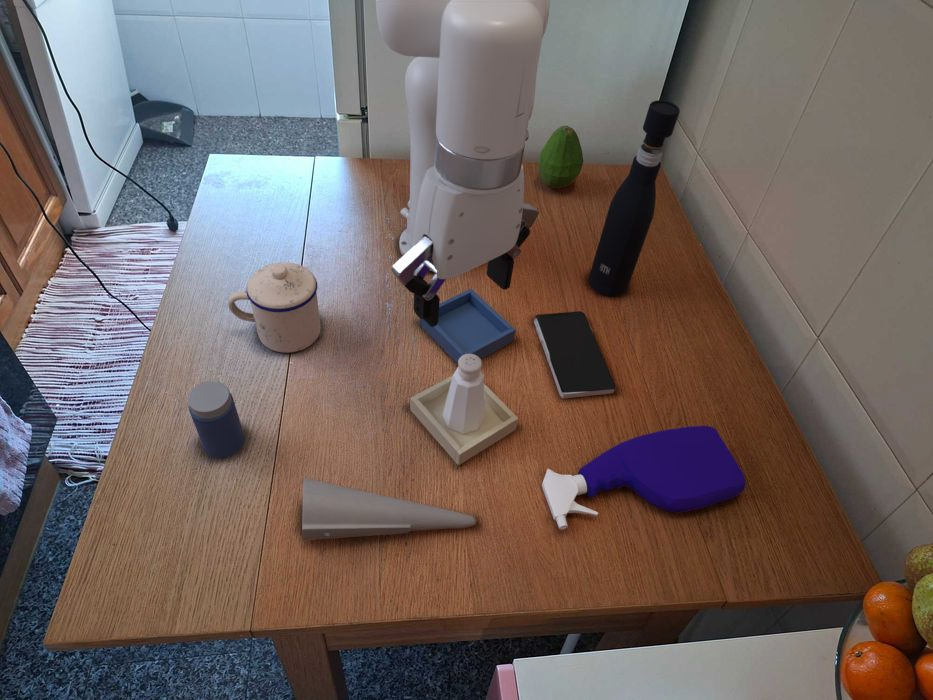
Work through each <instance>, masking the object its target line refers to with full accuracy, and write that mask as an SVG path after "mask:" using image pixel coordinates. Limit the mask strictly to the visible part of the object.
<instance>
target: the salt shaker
mask: <svg viewBox="0 0 933 700" xmlns="http://www.w3.org/2000/svg"><path fill="white" fill-rule="evenodd" d="M457 365H458V366H457V368H456V369H455V370H454V373H453V374H452V375H453V377H452V380H451V384H450V388H449V392H448V395H447V399H446V403H445V407H444V411H443V415H442V416H443V418H444V420H445V423H446V425H447V427H448V428H449V429H451V430H454V431H456V432H459V433H461V434H465V433H468V432H472V431H476V430H478V429H479V427H480V425H481V423H482V421H483V419H484V384H485V376H484V374H483V372H482V366H483V360H482V359H480V358H479V357H478V356H477V355H474V354H465V355H463V356H461V357H460V358H459V361H458V363H457Z"/></svg>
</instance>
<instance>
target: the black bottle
mask: <svg viewBox="0 0 933 700" xmlns="http://www.w3.org/2000/svg"><path fill="white" fill-rule="evenodd" d="M680 112H681V110H680V107H679V106H678V105H677V104H675V103H673V102H671V101H668V100H662V99H661V100H660V99H659V100H658V99H657V100H653V101H651V102H650V103H649V105H648V108H647V112H646V116H645V119H644V121H643V122H644V123H643V125H642V130H643V132H645V137H644V139H643V142H642V143H641V144H640V146H639V147H638V149H637V152H636V155H635V156H634V157H633V159H632V163H631V166H630V170H629V173H628V174H627V176H626V178H625V179H624V180H623V182H622V183H621V184H620V185H619V186H618V188H617V190H616V191H615V193H614V194H613V197H612V199H611V201H610V203H609V206H608V210H607V214H606V217H605V220H604V224H603V226H602V230H601V233H600V238H599V241H598V243H597V244H598V245H597V248H596V251H595V255H594V258H593V262H592V266H591V268H590V272H589V275H588V280H587V281H588V284H589V286H590V288H591V289H592V290H593V291H595V292H596V293H598V294H600V295H602V296H607V297H619V296H622V295H623V294H625V293H626V292H627V290H628V289H629V286H630V283H631V280H632V277H633V275H634V271H635V269H636V266H637V263H638V261H639V258H640V254H641V252H642V249H643V247H644V243H645V241H646V238H647V235H648V232H649V229H650V227H651V224H652V221H653V218H654V216H655V210H656V201H657V200H656V199H657V189H656V188H657V187H656V186H657V185H656V181H657V178H658V175H659V172H660V169H661V166H662V157H663V154H664V153H663V147H664V144H665V139H667V138H669V137H671V136H672V135H673V133H674V129H675V126H676V123H677V121H678V118H679V115H680Z"/></svg>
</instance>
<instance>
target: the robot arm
mask: <svg viewBox="0 0 933 700" xmlns="http://www.w3.org/2000/svg"><path fill="white" fill-rule="evenodd" d="M550 1H551V0H375V13H376V21H377V27H378V29H379V33H380V36H381V38H382V40H383V41H384V43H385V44H386V46H387V47H388V48H389V49H390V50H391V51H393V52H394V53H396V54H399V55H402V56H405V57H415V58H414V59H412V60H411V61H410V62H409V64H408V66H407V68H406V71H405V76H404V91H405V92H404V93H405V100H406V107H407V108H406V109H407V115H408V125H409V126H408V127H409V142H410V143H409V149H410V151H409V152H410V155H409V158H410V159H409V160H410V161H409V200H408V201H407V207H408V208H409V209H408V208H407V207H402V208H401V210H400V214H401V216H402V217H403V218H405V219H406V228H405V229H404V230H403V231H402V233H401V234H400V237H399V243H398V244H399V245H398V246H399V251H400V254H401V255H402V256H401V257H400V258H399V259H397V260H396V262H395V263H394V264H392V266H391V269H390V271H391V272H392V273H393V275H394V276H395V277H396V278H397V280H398V281H399V283H400V284H401V285H402V286H404V288H405V289H407V291H408V292H410V293H412V294H413V311H414V313H415V315H416V316H417V317H418V318H419V320H420V319H424V320H425V321H426V322H427V323H428V324H429V325H430V326H431V327H434V326H436V325H437V323H438V316H439V303H441V300H440V297H439V295H438V294H437V293H438V292H439V290H440V289H441V288H442V286H443V285H444V283H445V281H446V280H450V279H453V278H456V277H459V276H461V275H463V274H465V273H468V272H470V271H472V270H474V269H476V268H478V267H480V266H483V265H484V264H486V263H487V266H486V267H487V268H486V275H487V277H488V278H489V279H490V280H491V281H492V282H494V283H495V284H496V285H497V286H498V287H499V288H500V289H501V290H505V291H506V290H508V289H510V288H511V282H512V277H513V271H514V268H515V267H514V266H515V259H517V258H518V257H519V256H520V255H521V254H522V253H521V252H522V249H521V247H522V245H523V244H524V242H525V241H526V240H527V239H528V238H529V236H530V234H531V230H530V229H531V228H532V227H533V225H534V223H535V222H536V219H537V218H538V216H539V215H540V211H539V210H538V209H537V208H536V207H534V206H533V205H532V204H530V203H525V201H524V199H525V172H524V170H525V169H524V165H523V159H524V152H525V146H526V142H527V141H528V140H529V137H530V134H529V130H528V129H529V127H528V126H529V121H530V120H531V117H532V115H533V110H534V105H535V97H536V87H537V86H536V85H537V74H538V68H539V61H540V54H541V49H542V43H543V38H544V36H545V33H546V30H547V25H548V21H549V16H550V4H551V3H550ZM429 272H432V274H434V275H433V276H432V278H431V279H430V281H429V282H427V281H426V280H425V277H426V276H427V275H428V273H429Z"/></svg>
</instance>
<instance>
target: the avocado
mask: <svg viewBox="0 0 933 700" xmlns="http://www.w3.org/2000/svg"><path fill="white" fill-rule="evenodd" d="M583 156H584V155H583V148H582V145H581V142H580V138H579V136H578V134H577V132H576V131H575V130H574V128H572V127H571V126H569V125H562V126H559V127H558V128H556V129H555V130H554V131H553V132H552V134H551V135H550V137H548V140H547V141H546V142H545V144H544V146H543V148H542V149H541V152H540V154H539V158H538V173H539V175H540V179H541V181H542V182H543V184H544V185H546V186H547V187H549V188H553V189H563V188H565V187H568V186H569V185H572V184H573V183H574V182H575V181H576V180H577V178H578V177H579V175H580V173H581V171H582V168H583V164H584V157H583Z"/></svg>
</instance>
